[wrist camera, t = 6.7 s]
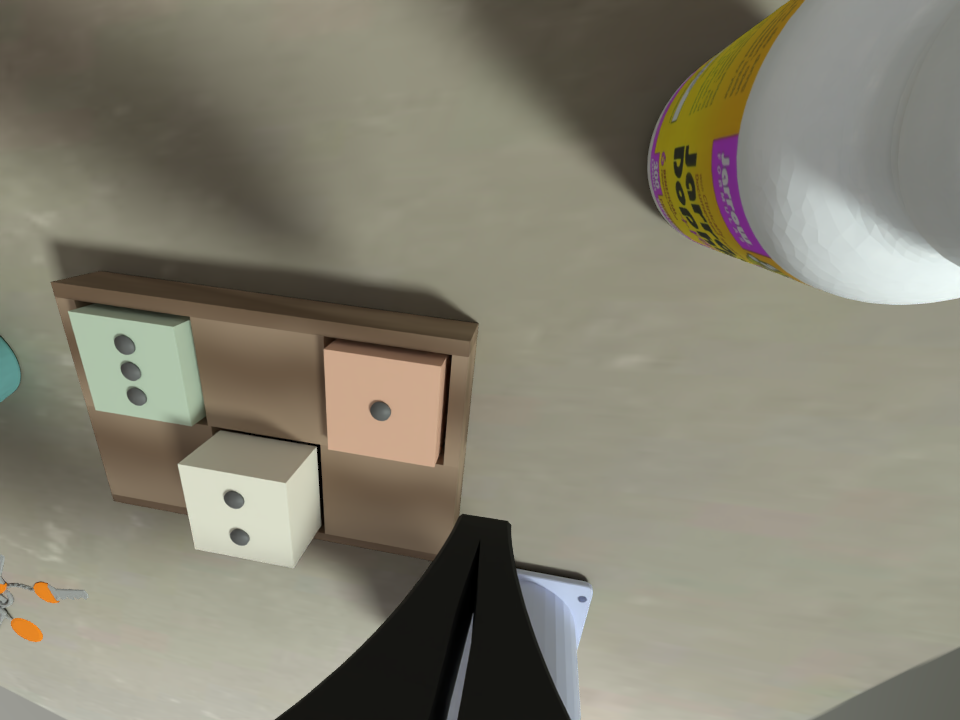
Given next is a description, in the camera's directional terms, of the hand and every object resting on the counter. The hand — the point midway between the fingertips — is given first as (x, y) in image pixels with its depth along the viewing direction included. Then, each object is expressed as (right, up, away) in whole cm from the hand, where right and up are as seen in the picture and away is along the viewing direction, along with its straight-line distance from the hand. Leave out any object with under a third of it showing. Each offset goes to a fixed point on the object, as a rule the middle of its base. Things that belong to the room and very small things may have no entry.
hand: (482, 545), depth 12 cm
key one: (-4, +4, +10) cm, 11 cm away
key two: (-11, -1, +11) cm, 15 cm away
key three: (-16, +6, +11) cm, 20 cm away
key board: (-10, +2, +12) cm, 16 cm away
